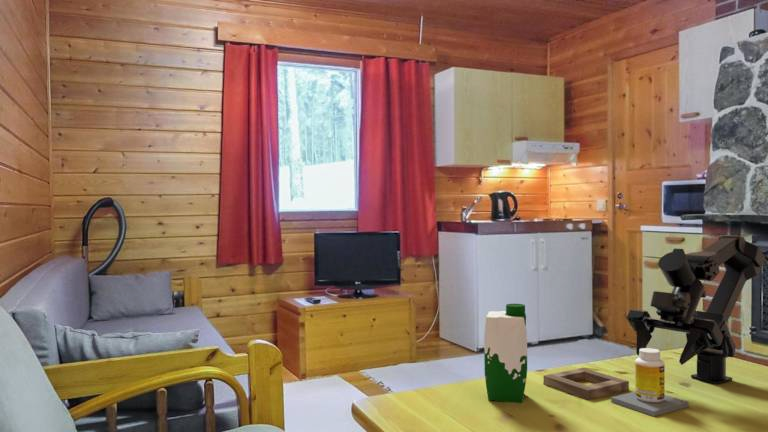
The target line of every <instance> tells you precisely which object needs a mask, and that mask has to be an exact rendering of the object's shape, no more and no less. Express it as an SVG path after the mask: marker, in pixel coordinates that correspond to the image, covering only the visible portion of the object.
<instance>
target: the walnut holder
mask: <svg viewBox="0 0 768 432" xmlns="http://www.w3.org/2000/svg"><path fill="white" fill-rule="evenodd" d="M581 381H586V382H590V383H592V384H587V385H586V384H583V383H581ZM543 385H544V386H547V387H551V388H553V389H557V390H559V391H562V392H565V393H567V394H571V395H573V396H576V397H579V398H582V399H585V400H587V401H588V400H593V399H597V398H602V397H606V396H611V395H614V394H618V393H619V394H620V393H622V392H627V391H629V390H630V381H629V380H626V379H623V378H620V377H616V376H614V375H613V376H612V375H610V374H606V373H602V372H599V371H596V370H592V369H589V368H586V367H581V368H575V369H571V370H570V369H569V370H566V371H559V372H555V373H550V374H546V375H545V374H544V375H543Z"/></svg>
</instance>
